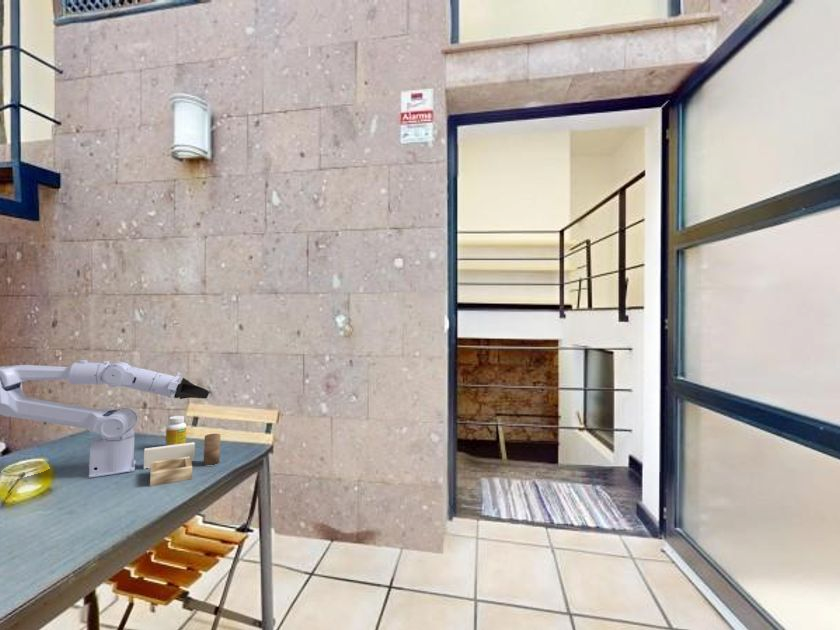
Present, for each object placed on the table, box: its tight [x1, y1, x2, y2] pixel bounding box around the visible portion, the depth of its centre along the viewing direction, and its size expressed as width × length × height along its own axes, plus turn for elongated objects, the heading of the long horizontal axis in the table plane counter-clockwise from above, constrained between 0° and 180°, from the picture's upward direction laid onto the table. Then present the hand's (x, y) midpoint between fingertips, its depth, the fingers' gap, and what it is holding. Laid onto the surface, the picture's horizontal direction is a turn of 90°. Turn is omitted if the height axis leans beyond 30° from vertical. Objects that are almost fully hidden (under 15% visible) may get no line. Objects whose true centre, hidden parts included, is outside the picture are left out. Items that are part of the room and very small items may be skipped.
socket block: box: [149, 456, 193, 487], centre depth 104 cm, size 9×9×3 cm
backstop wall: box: [143, 441, 196, 470], centre depth 112 cm, size 12×2×5 cm, turn 124°
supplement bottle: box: [165, 415, 187, 446], centre depth 124 cm, size 5×5×10 cm
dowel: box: [203, 433, 221, 466], centre depth 113 cm, size 4×4×8 cm
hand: (207, 394), depth 114 cm, fingers open, 7 cm apart
